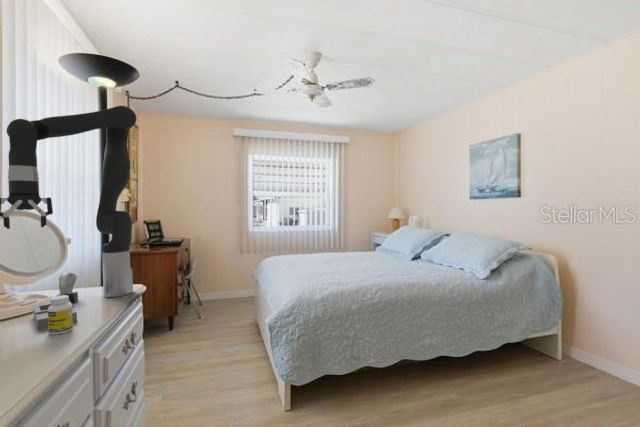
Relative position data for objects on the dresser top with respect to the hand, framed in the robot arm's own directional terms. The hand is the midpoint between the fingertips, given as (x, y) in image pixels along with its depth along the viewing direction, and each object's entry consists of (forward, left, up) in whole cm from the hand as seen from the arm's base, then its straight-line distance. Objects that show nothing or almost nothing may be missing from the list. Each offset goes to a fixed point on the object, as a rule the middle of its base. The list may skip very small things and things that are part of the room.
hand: (25, 227), depth 108 cm
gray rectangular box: (+3, +16, -28) cm, 33 cm away
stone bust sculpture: (-9, +5, -28) cm, 30 cm away
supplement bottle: (+11, +30, -28) cm, 43 cm away
